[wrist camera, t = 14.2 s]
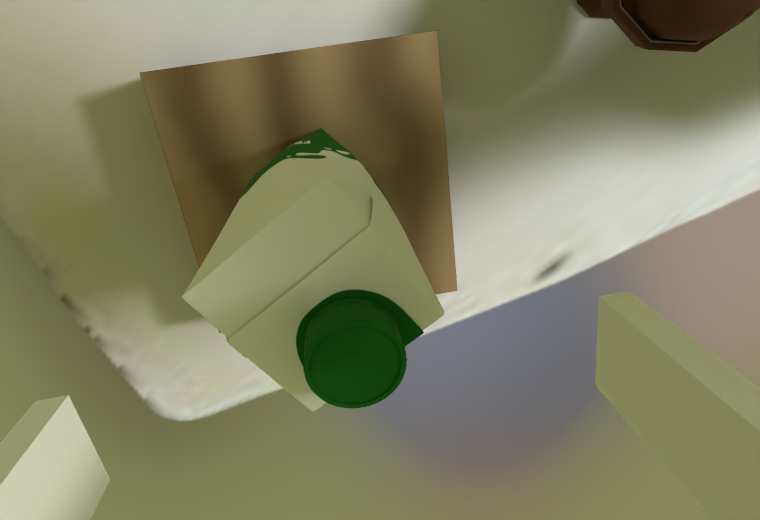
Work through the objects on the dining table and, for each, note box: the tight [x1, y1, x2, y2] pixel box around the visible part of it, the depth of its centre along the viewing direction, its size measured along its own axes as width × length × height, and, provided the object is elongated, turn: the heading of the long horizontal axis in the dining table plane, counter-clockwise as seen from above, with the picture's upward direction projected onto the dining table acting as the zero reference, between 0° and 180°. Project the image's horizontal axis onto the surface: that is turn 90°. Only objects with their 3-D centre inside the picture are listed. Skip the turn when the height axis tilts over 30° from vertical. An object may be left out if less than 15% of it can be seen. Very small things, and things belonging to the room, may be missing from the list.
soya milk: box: [182, 128, 444, 411], centre depth 27 cm, size 9×9×20 cm
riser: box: [140, 31, 457, 332], centre depth 38 cm, size 20×20×5 cm
